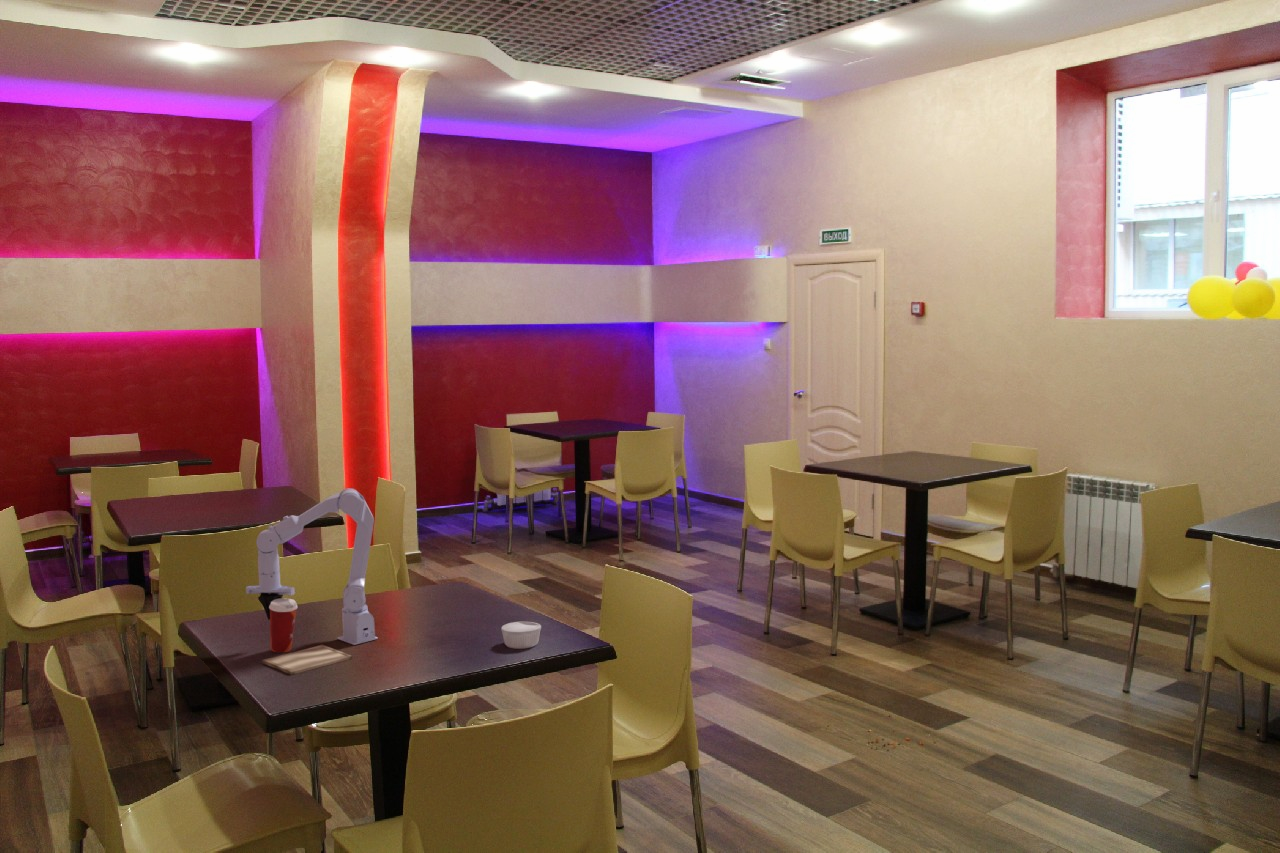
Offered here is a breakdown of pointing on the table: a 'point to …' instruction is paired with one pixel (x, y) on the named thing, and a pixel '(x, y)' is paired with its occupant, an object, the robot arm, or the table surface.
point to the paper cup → (282, 624)
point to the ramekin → (521, 634)
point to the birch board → (307, 659)
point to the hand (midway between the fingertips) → (271, 618)
